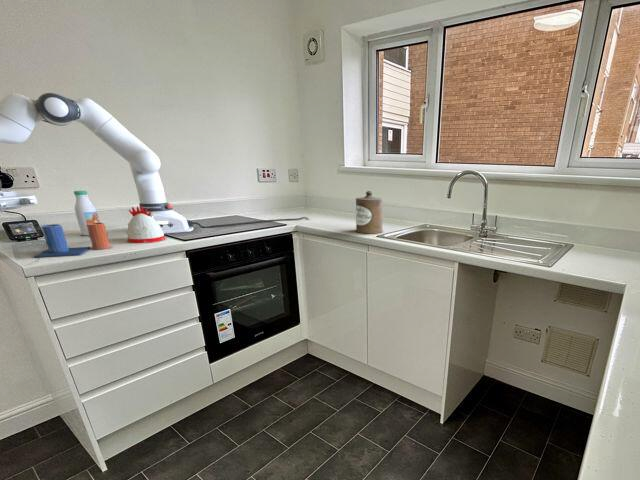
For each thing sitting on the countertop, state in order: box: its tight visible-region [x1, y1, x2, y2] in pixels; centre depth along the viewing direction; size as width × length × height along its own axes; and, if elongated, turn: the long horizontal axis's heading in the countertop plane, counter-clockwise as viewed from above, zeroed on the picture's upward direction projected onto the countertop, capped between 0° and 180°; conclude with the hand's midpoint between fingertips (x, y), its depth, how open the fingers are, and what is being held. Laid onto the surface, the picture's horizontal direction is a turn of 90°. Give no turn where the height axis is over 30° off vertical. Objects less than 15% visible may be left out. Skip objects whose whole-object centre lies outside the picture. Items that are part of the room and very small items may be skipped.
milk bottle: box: [73, 190, 101, 236], centre depth 164 cm, size 8×8×20 cm
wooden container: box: [355, 190, 383, 234], centre depth 195 cm, size 15×15×22 cm
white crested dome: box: [126, 206, 166, 244], centre depth 158 cm, size 14×14×15 cm
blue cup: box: [40, 223, 70, 253], centre depth 133 cm, size 6×6×10 cm
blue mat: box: [34, 246, 91, 259], centre depth 135 cm, size 13×12×1 cm
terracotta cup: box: [86, 221, 111, 250], centre depth 142 cm, size 6×6×10 cm
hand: (18, 203), depth 130 cm, fingers open, 8 cm apart
